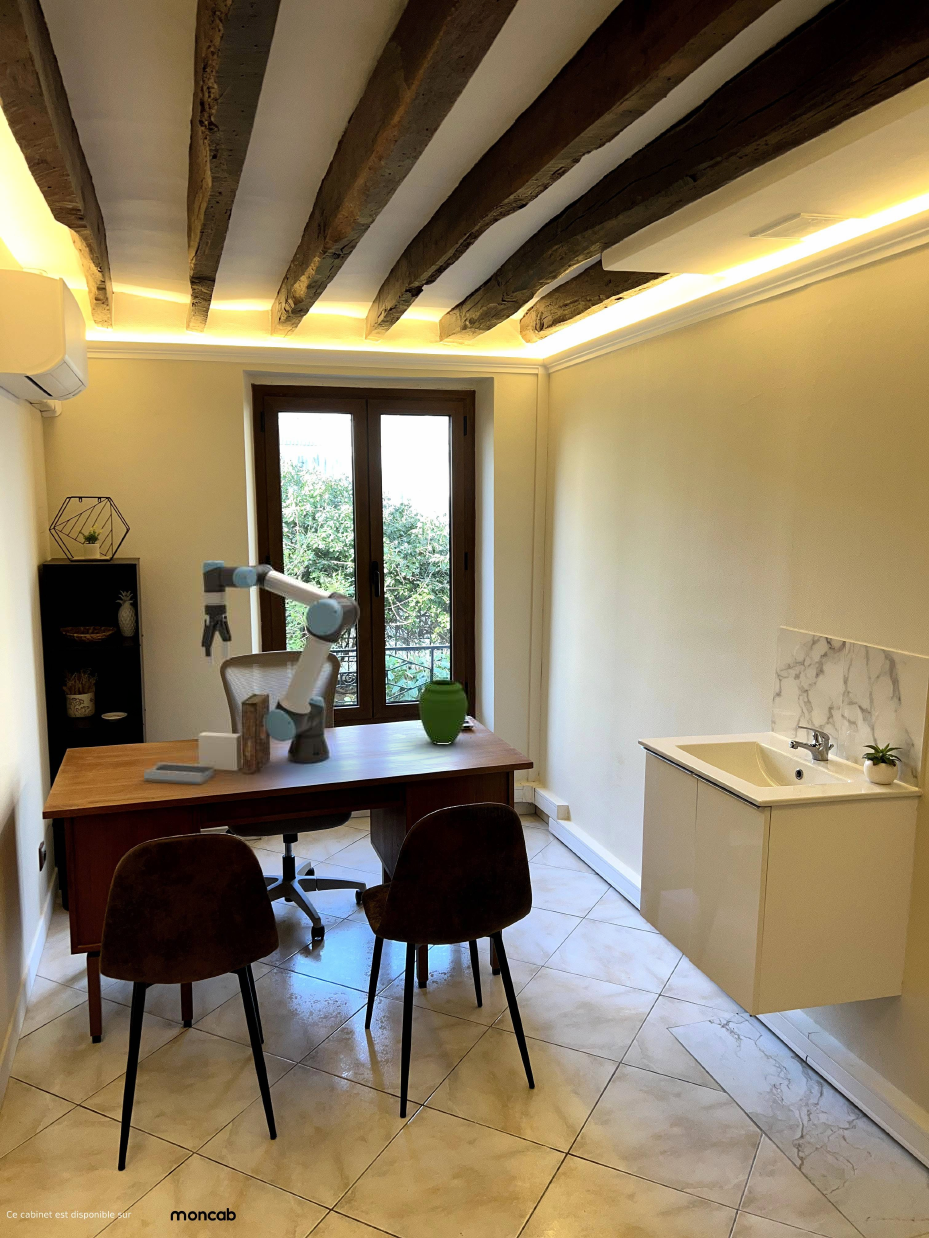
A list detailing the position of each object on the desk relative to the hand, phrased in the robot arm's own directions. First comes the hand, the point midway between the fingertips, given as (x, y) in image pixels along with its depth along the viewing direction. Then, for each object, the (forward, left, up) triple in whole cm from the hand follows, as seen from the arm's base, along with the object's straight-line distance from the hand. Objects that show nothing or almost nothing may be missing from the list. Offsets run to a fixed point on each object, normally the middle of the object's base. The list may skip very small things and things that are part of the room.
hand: (217, 662), depth 295 cm
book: (-18, +8, -36) cm, 41 cm away
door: (-6, +11, -36) cm, 38 cm away
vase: (-77, -37, -36) cm, 92 cm away
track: (+2, +25, -36) cm, 43 cm away
